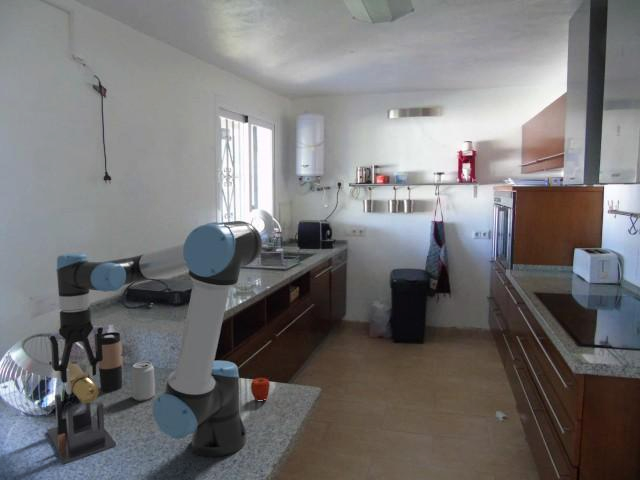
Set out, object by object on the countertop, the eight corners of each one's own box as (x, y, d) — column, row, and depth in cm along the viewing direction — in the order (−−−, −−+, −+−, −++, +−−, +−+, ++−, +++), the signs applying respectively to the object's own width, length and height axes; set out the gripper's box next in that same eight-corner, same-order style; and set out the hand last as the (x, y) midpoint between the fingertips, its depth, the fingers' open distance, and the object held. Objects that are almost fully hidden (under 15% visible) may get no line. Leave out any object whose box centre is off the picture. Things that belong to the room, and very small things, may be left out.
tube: (95, 403, 122) (101, 384, 123) (75, 402, 119) (81, 383, 119) (76, 380, 137) (82, 364, 138) (58, 379, 134) (64, 362, 134)
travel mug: (101, 385, 170) (99, 333, 168) (124, 382, 172) (121, 331, 170) (98, 393, 162) (95, 339, 161) (121, 390, 165) (118, 337, 163)
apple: (248, 402, 154) (247, 381, 153) (256, 395, 159) (256, 374, 159) (265, 405, 152) (264, 383, 151) (272, 397, 157) (272, 376, 157)
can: (147, 402, 155) (145, 368, 154) (127, 401, 156) (126, 367, 155) (159, 393, 162) (157, 360, 161) (140, 391, 163) (138, 359, 162)
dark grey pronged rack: (116, 445, 127) (114, 405, 126) (64, 463, 119) (61, 420, 118) (94, 418, 144) (92, 382, 143) (47, 432, 135) (44, 394, 134)
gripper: (105, 301, 135) (109, 377, 137) (34, 312, 123) (40, 394, 125) (113, 306, 129) (117, 385, 131) (40, 317, 117) (45, 403, 119)
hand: (79, 389), depth 128 cm, fingers closed on tube, 5 cm apart
